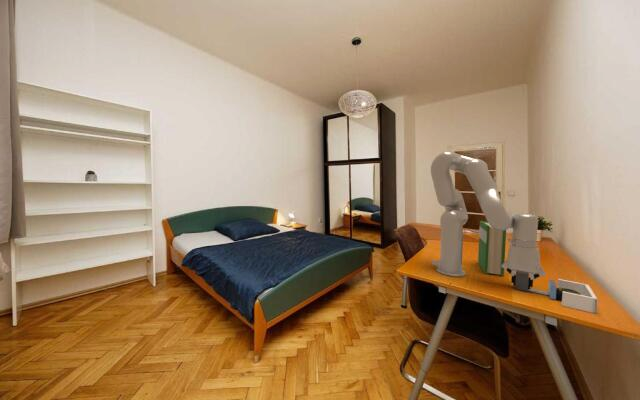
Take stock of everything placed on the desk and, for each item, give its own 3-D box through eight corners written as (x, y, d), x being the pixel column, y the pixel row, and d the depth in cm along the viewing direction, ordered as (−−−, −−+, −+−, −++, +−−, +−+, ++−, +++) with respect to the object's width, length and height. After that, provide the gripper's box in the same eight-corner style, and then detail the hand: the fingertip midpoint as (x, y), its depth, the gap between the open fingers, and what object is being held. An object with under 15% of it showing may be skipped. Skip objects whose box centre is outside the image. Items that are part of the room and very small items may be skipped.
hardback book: (503, 276, 109) (506, 227, 108) (484, 274, 113) (487, 225, 111) (494, 265, 125) (496, 221, 124) (477, 263, 128) (479, 220, 127)
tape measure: (555, 300, 87) (556, 291, 87) (554, 294, 92) (554, 285, 92) (582, 307, 82) (583, 297, 82) (579, 300, 87) (580, 290, 87)
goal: (561, 305, 83) (562, 292, 83) (557, 290, 95) (558, 278, 95) (596, 313, 78) (597, 299, 77) (587, 297, 90) (588, 284, 89)
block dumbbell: (514, 290, 95) (515, 273, 94) (515, 284, 101) (516, 268, 100) (555, 299, 87) (556, 281, 86) (553, 292, 93) (554, 275, 92)
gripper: (497, 241, 98) (495, 283, 99) (553, 248, 87) (550, 296, 88) (499, 238, 104) (497, 278, 105) (551, 245, 92) (549, 289, 94)
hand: (521, 285), depth 96 cm, fingers closed on block dumbbell, 4 cm apart
